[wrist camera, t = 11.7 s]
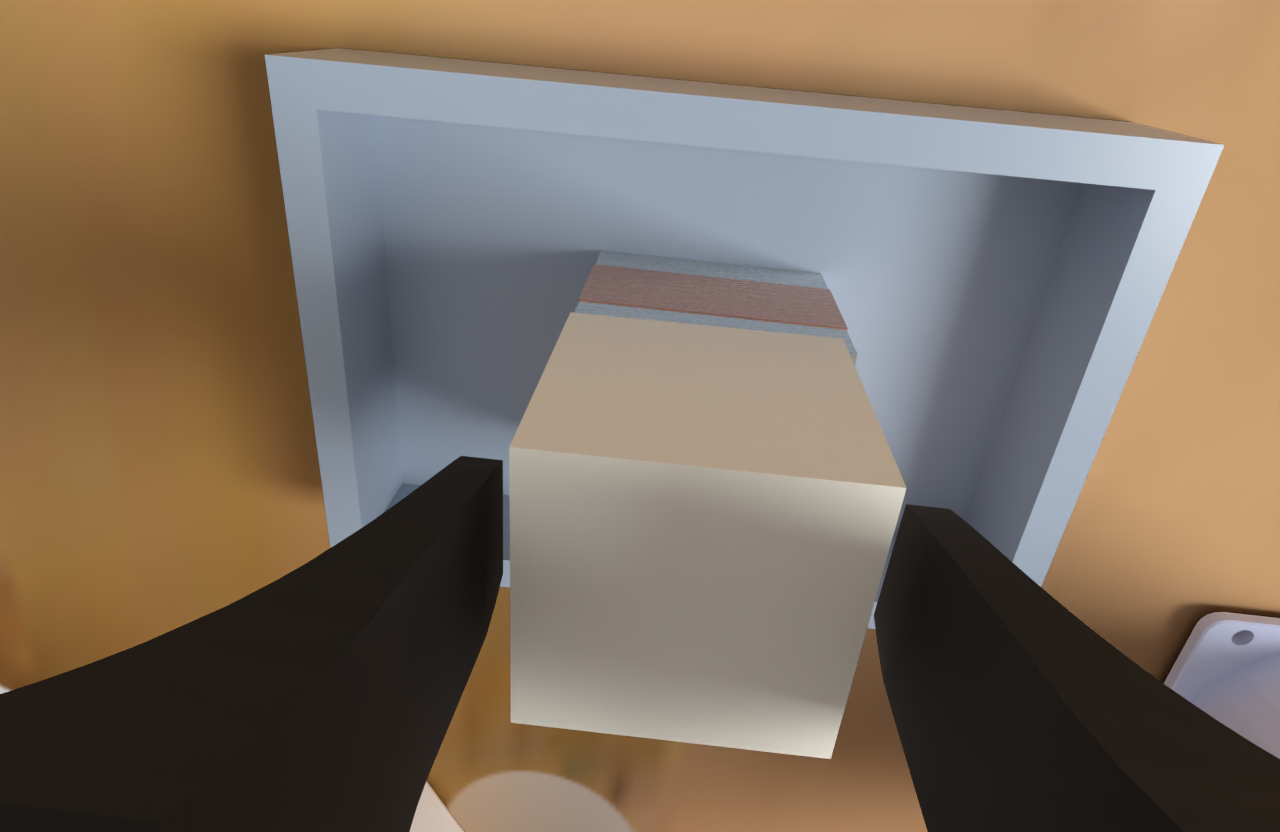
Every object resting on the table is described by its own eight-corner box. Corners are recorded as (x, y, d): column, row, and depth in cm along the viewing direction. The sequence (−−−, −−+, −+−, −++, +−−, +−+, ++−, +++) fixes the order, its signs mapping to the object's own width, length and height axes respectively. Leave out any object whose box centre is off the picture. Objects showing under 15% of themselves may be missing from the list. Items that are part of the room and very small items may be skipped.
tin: (822, 272, 17) (858, 352, 13) (784, 463, 19) (804, 582, 15) (600, 249, 17) (568, 321, 13) (588, 441, 19) (557, 553, 15)
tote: (1134, 122, 15) (1224, 145, 13) (976, 563, 20) (1016, 644, 18) (339, 48, 16) (264, 54, 13) (380, 497, 21) (333, 567, 18)
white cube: (842, 338, 13) (906, 488, 9) (797, 557, 15) (830, 759, 11) (570, 312, 13) (510, 447, 9) (563, 532, 15) (511, 722, 11)
